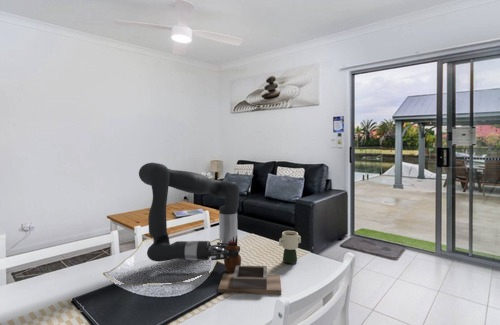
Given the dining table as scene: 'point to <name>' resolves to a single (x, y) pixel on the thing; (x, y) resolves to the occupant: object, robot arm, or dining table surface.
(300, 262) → the dining table surface
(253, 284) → the socket stand
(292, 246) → the character mug
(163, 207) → the robot arm
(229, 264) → the wooden figurine
